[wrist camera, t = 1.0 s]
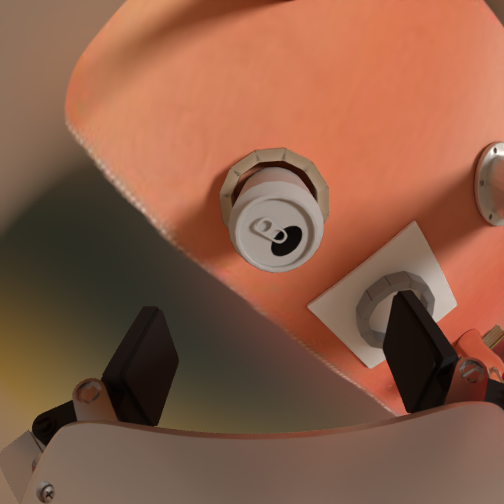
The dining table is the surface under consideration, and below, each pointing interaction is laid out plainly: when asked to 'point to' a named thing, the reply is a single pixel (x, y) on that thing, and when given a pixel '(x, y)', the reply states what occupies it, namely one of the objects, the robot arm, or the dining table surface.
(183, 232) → the dining table surface
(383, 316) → the holder
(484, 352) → the silver tumbler
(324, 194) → the stand ring
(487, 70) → the dining table surface
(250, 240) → the can
